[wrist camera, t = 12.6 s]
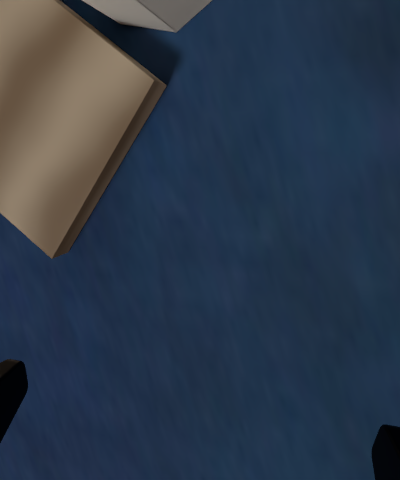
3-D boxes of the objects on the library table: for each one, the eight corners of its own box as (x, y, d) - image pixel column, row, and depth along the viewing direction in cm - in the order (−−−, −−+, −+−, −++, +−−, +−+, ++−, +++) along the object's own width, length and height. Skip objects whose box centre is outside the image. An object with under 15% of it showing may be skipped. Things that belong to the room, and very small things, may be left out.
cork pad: (167, 85, 18) (154, 80, 17) (67, 252, 23) (51, 258, 22) (2, -46, 20) (-22, -61, 18) (-61, 137, 24) (-84, 137, 23)
